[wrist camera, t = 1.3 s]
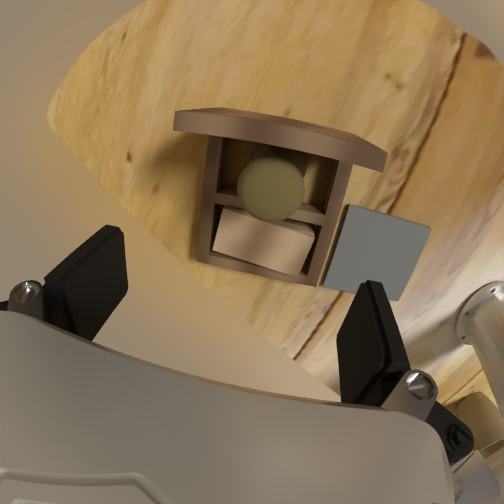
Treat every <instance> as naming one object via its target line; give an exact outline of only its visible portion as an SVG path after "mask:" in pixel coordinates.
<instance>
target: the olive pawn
mask: <svg viewBox="0 0 504 504" xmlns="http://www.w3.org/2000/svg"><path fill="white" fill-rule="evenodd" d="M306 167H307V164H306V157H305V155H304V153H303V151H298V150H294V149H289V148H284V147H279V146H274V145H269V144H264V143H260V144H259V145H258V146H257V147H256V148H255V150H254V152H253V154H252V156H251V162H250V163H249V164H248V165H247V166H246V167H245V168H244V169H243V170H242V172H241V174H240V176H239V178H238V184H237V193H238V197H239V201H240V203H241V205H242V206H243V208H244V210H245V211H247V212H248V213H249V214H250V215H251V216H252V217H254V218H256V219H258V220H260V221H266V222H277V221H282V220H284V219H286V218H288V217H290V216H291V215H292V214H293V213H295V212H296V211H297V210H298V208H299V206H300V205H301V203H302V201H303V198H304V193H305V188H304V181H303V177H304V176H305V173H306Z"/></svg>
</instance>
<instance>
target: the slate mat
mask: <svg viewBox="0 0 504 504" xmlns="http://www.w3.org/2000/svg"><path fill="white" fill-rule="evenodd" d="M430 231H431V228H430V227H428V226H425V225H422V224H419V223H415V222H412V221H409V220H405V219H402V218H399V217H395V216H392V215H388V214H385V213H381V212H377V211H374V210H370V209H366V208H363V207H359V206H355V205H351V204H349V205H348V208H347V211H346V215H345V218H344V221H343V224H342V228H341V231H340V234H339V237H338V240H337V243H336V246H335V250H334V253H333V256H332V259H331V262H330V264H329V267H328V270H327V273H326V276H325V279H324V282H323V287H327V288H332V289H337V290H342V291H347V292H352V293H357V290H358V288H359V286H360V284H361V283H362V282H363V283H365V282H366V281H367V280H372V281H377V282H381V283H382V284H383V287H384V290H385V292H386V295H387V298H388V300H393V301H399V299H400V297H401V295H402V293H403V291H404V289H405V287H406V285H407V283H408V281H409V279H410V277H411V275H412V273H413V270H414V268H415V266H416V264H417V262H418V260H419V257H420V255H421V253H422V250H423V248H424V246H425V243H426V241H427V239H428V236H429V234H430Z"/></svg>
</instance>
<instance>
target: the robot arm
mask: <svg viewBox="0 0 504 504" xmlns="http://www.w3.org/2000/svg"><path fill="white" fill-rule="evenodd" d="M44 280H45V284H44V285H43V286H42V285H41V284H40V283H39V282H38V281H34V280H28V281H24V282H21V283H19V284H18V285H16V286H15V287H14V288H13V289H12V291H11V292H10V295H9V300H7V301H3V302H0V504H504V447H502V448H501V449H499V450H498V451H496V452H495V453H493V454H492V455H490V456H488V457H487V458H485V459H484V458H483V457H482V455H481V454H480V452H479V451H478V450H476V451H475V452H474V451H473V447H474V437H473V434H472V432H471V430H470V429H469V428H468V426H467V425H465V424H464V423H463V422H462V421H461V420H459V419H458V418H457V417H456V416H454V415H453V414H452V413H451V412H450V411H448V410H447V409H446V408H445V407H443V406H442V405H441V404H440V403H439V402H437V401H436V399H437V395H438V388H437V385H436V382H435V381H434V380H433V378H432V377H431V376H430V375H429V374H427V373H425V372H424V371H421V370H417V369H415V370H411V368H410V364H409V361H408V357H407V354H406V351H405V347H404V344H403V341H402V338H401V335H400V332H399V329H398V326H397V323H396V320H395V317H394V315H393V312H392V309H391V306H390V303H389V300H388V298H387V295H386V292H385V290H384V287H383V284H382V283H381V282H377V281H372V280H367V281H366V282H365V283H363V282H362V283H361V284H360V286H359V288H358V290H357V293H356V295H355V297H354V300H353V302H352V304H351V306H350V308H349V311H348V313H347V315H346V317H345V319H344V321H343V323H342V326H341V328H340V330H339V332H338V334H337V340H336V342H337V353H338V364H339V376H340V390H341V402H333V401H325V400H317V399H310V398H302V397H296V396H289V395H283V394H277V393H271V392H266V391H261V390H256V389H251V388H246V387H240V386H236V385H231V384H227V383H223V382H219V381H214V380H210V379H206V378H203V377H199V376H195V375H191V374H188V373H184V372H180V371H177V370H173V369H170V368H167V367H163V366H160V365H157V364H154V363H151V362H147V361H144V360H141V359H138V358H135V357H132V356H130V355H127V354H124V353H121V352H118V351H115V350H113V349H110V348H107V347H104V346H102V345H100V344H97V343H94V342H92V340H93V339H94V337H95V336H96V334H97V333H98V332H99V330H100V329H101V327H102V326H103V325H104V323H105V322H106V320H107V319H108V318H109V316H110V315H111V314H112V312H113V311H114V309H115V308H116V307H117V305H118V304H119V303H120V301H121V300H122V299H123V297H124V296H125V295H126V293H127V291H128V279H127V270H126V258H125V245H124V234H123V232H122V231H121V230H120V228H119V227H115V226H111V225H105V226H104V227H102V228H101V229H100V230H99V231H97V232H96V233H95V234H94V235H92V236H91V237H90V238H89V239H88V240H86V241H85V242H84V243H83V244H82V245H80V246H79V247H78V248H77V249H76V250H74V251H73V252H72V253H71V254H70V255H69V256H68V257H66V258H65V259H64V260H63V261H62V262H61V263H60V264H58V265H57V266H56V268H54V269H53V270H52V271H51V272H50V273H49V274H48V275H47V276H46V277H44ZM456 333H457V336H458V338H459V340H460V341H461V342H462V343H464V344H467V345H472V346H473V348H474V350H475V352H476V355H477V357H478V359H479V361H480V363H481V366H482V368H483V370H484V373H485V375H486V377H487V380H488V382H489V385H490V387H491V390H492V392H493V395H494V398H495V400H496V403H497V405H498V408H499V411H500V413H501V415H502V416H503V417H504V282H503V281H498V282H493V283H491V284H488V285H486V286H485V287H483V288H481V289H480V290H479V291H477V292H476V293H475V294H474V295H473V296H472V297H471V298H470V299H469V300H468V301H467V303H466V304H465V305H464V307H463V308H462V310H461V312H460V314H459V316H458V319H457V322H456Z"/></svg>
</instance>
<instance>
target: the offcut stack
mask: <svg viewBox="0 0 504 504" xmlns="http://www.w3.org/2000/svg"><path fill="white" fill-rule="evenodd" d="M314 239H315V236H314V226H313V225H310V224H307V223H304V222H301V221H298V220H294V219H290V218H286V219H284V220H282V221H277V222H266V221H260V220H258V219H256V218H254V217H252V216H251V215H250V214H249V213H248V212H247V211H245V210H244V209H242V208H237V207H232V206H227V205H225V206H224V208H223V210H222V214H221V218H220V222H219V226H218V230H217V234H216V238H215V242H214V246H213V250H214V251H217V252H220V253H223V254H226V255H229V256H232V257H236V258H239V259H242V260H245V261H248V262H251V263H254V264H257V265H260V266H263V267H267V268H270V269H273V270H276V271H279V272H282V273H285V274H288V275H292V276H295V277H298V275H299V273H300V271H301V269H302V266H303V264H304V262H305V260H306V257H307V255H308V253H309V250H310V248H311V246H312V243H313V241H314Z"/></svg>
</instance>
